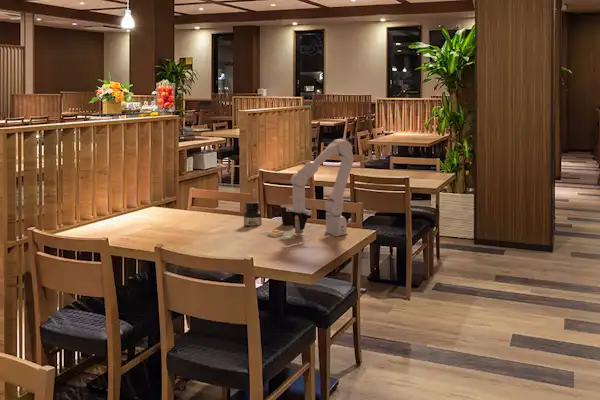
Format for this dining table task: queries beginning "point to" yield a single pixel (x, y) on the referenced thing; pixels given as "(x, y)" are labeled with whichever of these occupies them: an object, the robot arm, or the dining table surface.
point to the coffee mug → (286, 215)
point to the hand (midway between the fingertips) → (299, 228)
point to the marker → (297, 226)
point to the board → (286, 234)
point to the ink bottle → (252, 214)
